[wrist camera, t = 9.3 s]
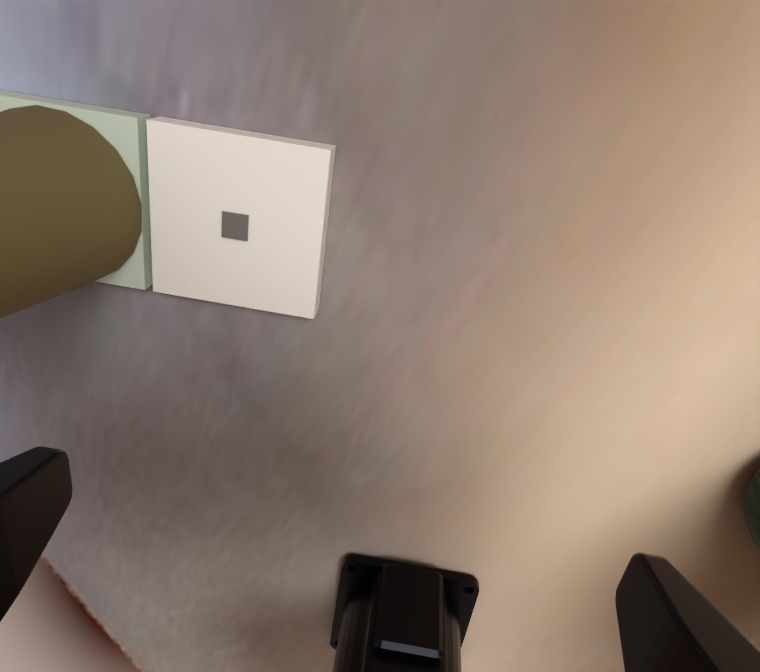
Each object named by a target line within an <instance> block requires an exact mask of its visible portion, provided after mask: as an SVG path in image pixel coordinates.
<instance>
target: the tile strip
mask: <svg viewBox="0 0 760 672" xmlns="http://www.w3.org/2000/svg"><path fill="white" fill-rule="evenodd" d="M32 105H39V106H44V107H48V108H53V109H57V110H62V111H66V112H68V113H69V114H71V115H73V116H75V117H77V118H78V119H80V120H82V121H84V122H86V123H87V124H89V125H91V126H93V127H94V128H95V129H96V130H97V131H98V132H99V133H100V134H101V135H102V136H103V137H104V138H105V139H106V140H107V141H108V142H109V143H110V144H111V145H113V146H114V147H115V148H116V149H117V151H118V153H119V154H120V156H121V157H122V159H123V161H124V162H125V164H126V166H127V167H128V169H129V170H130V172H131V174H132V175H133V178H134V181H135V184H136V188H137V191H138V194H139V198H140V201H141V204H142V220H141V234H140V236H139V239H138V242H137V245H136V247H135V250H134V253H133V254H132V255H131V257H130V258H129V259H128V260H127V261H126V262H125V263H124V264H123V265H122V266H121V268H120V269H119V270H117V271H115V272H113V273H111V274H109V275H107V276H105V277H102V278H100V279H98V280H96V281H95V282H101V283H107V284H113V285H119V286H124V287H130V288H136V289H142V290H146V289H147V288H148V287H150V286H151V285H152V284H153V292H159V293H165V294H171V295H177V296H182V297H188V298H194V299H200V300H206V301H211V302H217V303H223V304H229V305H235V306H240V307H246V308H252V309H258V310H264V311H269V312H275V313H281V314H287V315H293V316H299V317H304V318H310V319H314V318H315V315H316V313H317V311H318V309H319V303H320V293H321V284H322V274H323V265H324V255H325V246H326V236H327V227H328V217H329V207H330V198H331V188H332V179H333V169H334V160H335V150H336V145H329V144H323V143H317V142H311V141H305V140H299V139H293V138H287V137H281V136H275V135H269V134H263V133H257V132H251V131H245V130H239V129H233V128H227V127H221V126H215V125H209V124H203V123H197V122H191V121H184V120H178V119H172V118H166V117H155V118H151V115H148V114H142V113H136V112H130V111H124V110H118V109H112V108H106V107H100V106H94V105H88V104H82V103H76V102H70V101H64V100H58V99H52V98H46V97H39V96H33V95H27V94H21V93H15V92H9V91H3V90H0V112H2V111H4V110H7V109H10V108H17V107H24V106H32Z"/></svg>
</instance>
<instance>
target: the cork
mask: <svg viewBox="0 0 760 672" xmlns="http://www.w3.org/2000/svg"><path fill="white" fill-rule="evenodd" d="M141 220H142V204H141V201H140V198H139V194H138V191H137V188H136V184H135V181H134V178H133V175H132V174H131V172H130V170H129V169H128V167H127V166H126V164H125V162H124V161H123V159H122V157H121V156H120V154H119V153H118V151H117V149H116V148H115V147H114V146H113V145H111V144H110V143H109V142H108V141H107V140H106V139H105V138H104V137H103V136H102V135H101V134H100V133H99V132H98V131H97V130H96V129H95V128H94V127H93V126H91V125H89V124H87V123H86V122H84V121H82V120H80V119H78V118H77V117H75V116H73V115H71V114H69V113H68V112H66V111H62V110H57V109H53V108H48V107H44V106H39V105H32V106H24V107H17V108H10V109H7V110H4V111H2V112H0V318H2V317H4V316H7V315H9V314H12V313H14V312H17V311H20V310H22V309H25V308H27V307H30V306H32V305H35V304H37V303H40V302H42V301H45V300H47V299H50V298H53V297H55V296H58V295H60V294H63V293H65V292H68V291H70V290H73V289H75V288H78V287H81V286H83V285H86V284H88V283H91V282H93V281H96V280H98V279H100V278H102V277H105V276H107V275H109V274H111V273H113V272H115V271H117V270H119V269H120V268H121V266H122V265H123V264H124V263H125V262H126V261H127V260H128V259H129V258H130V257H131V255H132V254H133V253H134V250H135V247H136V245H137V242H138V239H139V236H140V234H141Z"/></svg>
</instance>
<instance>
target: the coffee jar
mask: <svg viewBox="0 0 760 672" xmlns="http://www.w3.org/2000/svg"><path fill="white" fill-rule="evenodd" d="M744 513H745V518H746V521H747V525H748V528H749V530H750V532H751V534H752V537H753V539H754V541H755V543H756V545H757V546H758V548H759V550H760V468H759V469H758V470H757V471H756V472H755V474H754V476H753V478H752V480H751V482H750V484H749V485H748V487H747V490H746V493H745V497H744Z"/></svg>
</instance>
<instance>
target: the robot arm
mask: <svg viewBox="0 0 760 672" xmlns="http://www.w3.org/2000/svg"><path fill="white" fill-rule="evenodd" d="M71 497H72V482H71V474H70V467H69V459H68V455H67V454H66V452H65V451H63V450H60V449H54V448H48V447H36V448H33V449H31V450H28V451H26V452H24V453H21V454H19V455H17V456H15V457H12V458H10V459H8V460H6V461H3V462H1V463H0V621H1V620H2V618H3V617H4V615H5V614H6V613H7V611H8V610H9V608H10V607H11V605H12V604H13V602H14V601H15V599H16V598H17V596H18V595H19V593H20V591H21V590H22V588H23V586H24V585H25V583H26V581H27V579H28V578H29V576H30V574H31V572H32V571H33V569H34V567H35V564H36V563H37V561H38V560H39V558H40V556H41V554H42V552H43V551H44V549H45V547H46V545H47V543H48V542H49V540H50V538H51V536H52V534H53V533H54V531H55V529H56V527H57V525H58V524H59V522H60V520H61V518H62V516H63V515H64V513H65V511H66V509H67V507H68V505H69V503H70V501H71ZM351 565H354V566H351ZM466 586H470V587H466ZM478 593H479V582H478V580H477V579H476V578H475V577H472V576H469V575H463V574H458V573H452V572H447V571H441V570H436V569H430V568H425V567H419V566H414V565H408V564H402V563H397V562H391V561H386V560H380V559H375V558H369V557H364V556H358V555H348V556H346V557H345V558H344V560H343V565H342V571H341V578H340V584H339V590H338V596H337V602H336V609H335V615H334V621H333V627H332V633H331V640H330V645H331V646H332V647H333V648H334V649H336V655H335V661H334V667H333V672H461V646H462V643H463V640H464V637H465V634H466V631H467V627H468V624H469V621H470V618H471V615H472V612H473V609H474V606H475V603H476V600H477V596H478ZM616 610H617V617H618V624H619V631H620V639H621V646H622V653H623V660H624V667H625V672H760V652H759V651H758V650H757V649H756V648H755V647H754V646H753V645H752V644H751V643H750V642H749V641H748V640H747V639H746V638H745V637H744V636H743V635H742V634H741V633H740V632H739V631H738V630H737V629H736V628H735V627H734V626H733V625H732V624H731V623H730V622H729V621H728V620H727V619H726V618H725V617H724V616H723V615H722V614H721V613H720V612H719V611H718V610H717V609H716V608H715V607H714V606H713V605H712V604H711V603H710V602H709V601H708V600H707V599H706V598H705V597H704V596H703V595H702V594H701V593H700V592H699V591H698V590H697V589H696V588H695V587H694V586H693V585H692V584H691V583H690V582H689V581H688V580H687V579H686V578H685V577H684V576H683V575H682V574H681V573H680V572H679V571H678V570H677V569H676V568H675V567H674V566H673V565H672V564H671V563H670V562H669V561H667V560H666V559H665V558H663V557H661V556H657V555H651V554H646V553H636V554H634V555H633V556H632V558H631V560H630V562H629V564H628V566H627V568H626V570H625V572H624V574H623V576H622V578H621V580H620V583H619V585H618V587H617V590H616Z"/></svg>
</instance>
